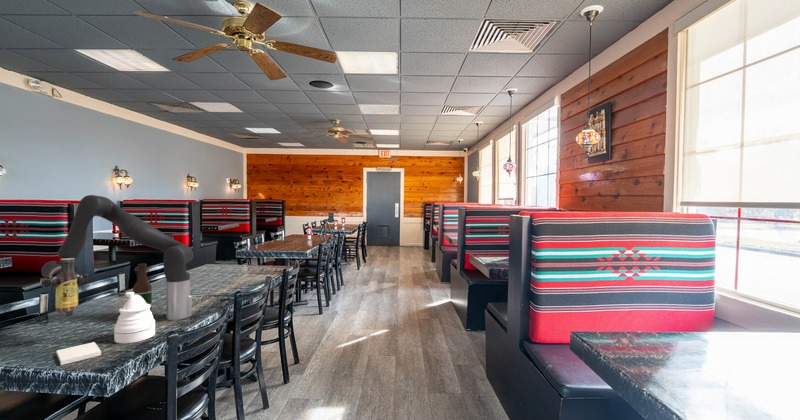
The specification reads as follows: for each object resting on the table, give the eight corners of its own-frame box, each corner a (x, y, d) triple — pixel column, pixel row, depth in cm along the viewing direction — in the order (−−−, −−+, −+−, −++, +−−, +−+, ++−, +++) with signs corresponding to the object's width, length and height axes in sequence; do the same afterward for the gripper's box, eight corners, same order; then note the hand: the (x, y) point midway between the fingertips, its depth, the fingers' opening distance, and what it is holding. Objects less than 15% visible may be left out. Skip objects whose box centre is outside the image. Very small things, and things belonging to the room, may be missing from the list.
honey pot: (130, 345, 128) (130, 297, 128) (105, 340, 132) (105, 294, 131) (163, 332, 140) (162, 289, 140) (140, 329, 144) (139, 286, 144)
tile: (94, 341, 127) (101, 351, 120) (94, 346, 127) (101, 356, 120) (56, 350, 120) (61, 361, 112) (56, 355, 120) (61, 366, 112)
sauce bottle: (63, 314, 127) (62, 260, 127) (50, 312, 128) (49, 260, 128) (83, 308, 134) (82, 257, 133) (70, 307, 135) (69, 257, 134)
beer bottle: (155, 313, 164) (155, 263, 164) (136, 318, 157) (136, 266, 157) (148, 310, 168) (148, 262, 168) (129, 315, 162) (128, 264, 161)
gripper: (37, 269, 135) (40, 276, 124) (86, 264, 146) (93, 270, 135) (37, 288, 135) (40, 296, 124) (86, 282, 146) (93, 289, 135)
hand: (68, 282), depth 129 cm, fingers closed on sauce bottle, 6 cm apart
